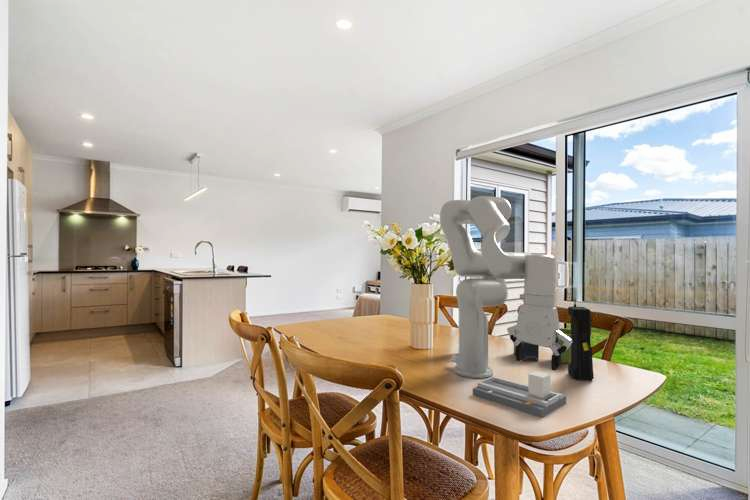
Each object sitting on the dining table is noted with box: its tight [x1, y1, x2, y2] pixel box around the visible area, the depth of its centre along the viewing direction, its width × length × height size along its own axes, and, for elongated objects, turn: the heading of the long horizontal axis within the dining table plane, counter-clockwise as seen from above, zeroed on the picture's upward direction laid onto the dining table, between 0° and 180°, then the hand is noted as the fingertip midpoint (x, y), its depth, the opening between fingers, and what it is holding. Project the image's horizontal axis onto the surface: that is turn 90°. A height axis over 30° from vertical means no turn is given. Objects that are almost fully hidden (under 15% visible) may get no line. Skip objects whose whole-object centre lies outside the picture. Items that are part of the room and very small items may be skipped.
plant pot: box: [552, 327, 571, 364], centre depth 147 cm, size 12×12×11 cm
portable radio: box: [567, 298, 595, 382], centre depth 127 cm, size 8×6×25 cm
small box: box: [513, 330, 540, 362], centre depth 152 cm, size 11×6×10 cm, turn 179°
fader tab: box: [527, 370, 552, 400], centre depth 104 cm, size 4×6×6 cm
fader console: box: [472, 375, 567, 419], centre depth 108 cm, size 20×14×3 cm
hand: (537, 364), depth 104 cm, fingers open, 9 cm apart
